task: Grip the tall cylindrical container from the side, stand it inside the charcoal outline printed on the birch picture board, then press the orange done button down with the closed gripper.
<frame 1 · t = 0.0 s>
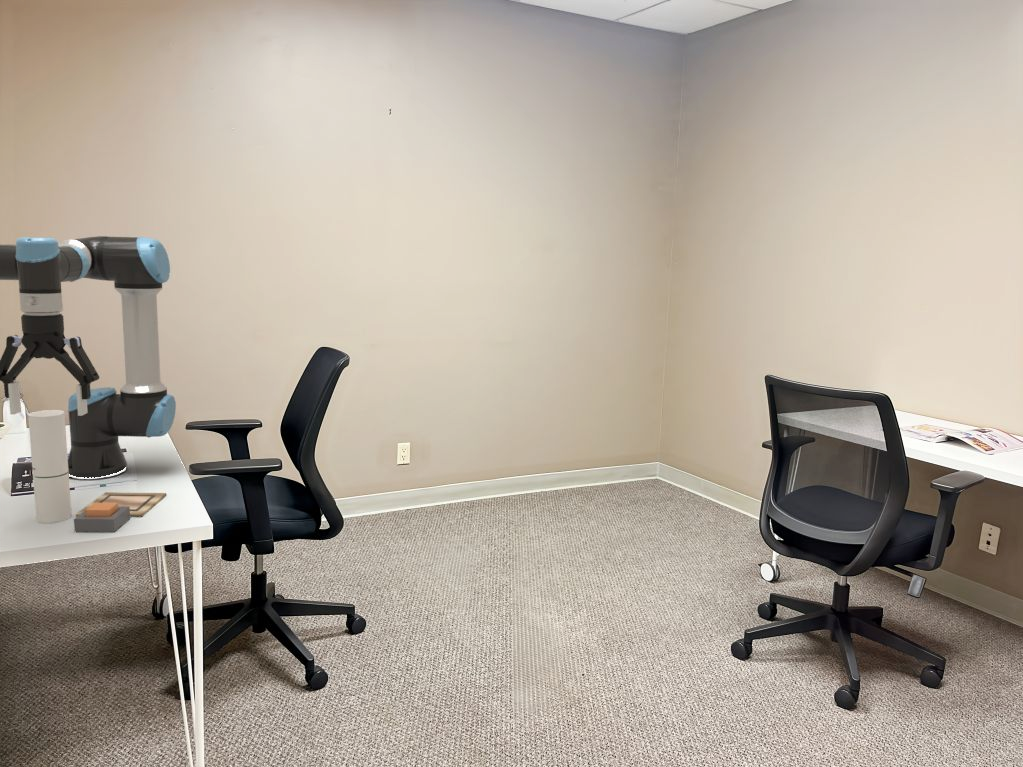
hand: (49, 413, 166), 28 cm above the table, tool pointing down, fingers open, 13 cm apart
done button housing: (103, 525, 180), on the table
cylindrical container: (54, 518, 183), on the table
done button: (102, 512, 179), point 3 cm above the table, slide at 0.0 cm
picture board: (123, 505, 193), on the table
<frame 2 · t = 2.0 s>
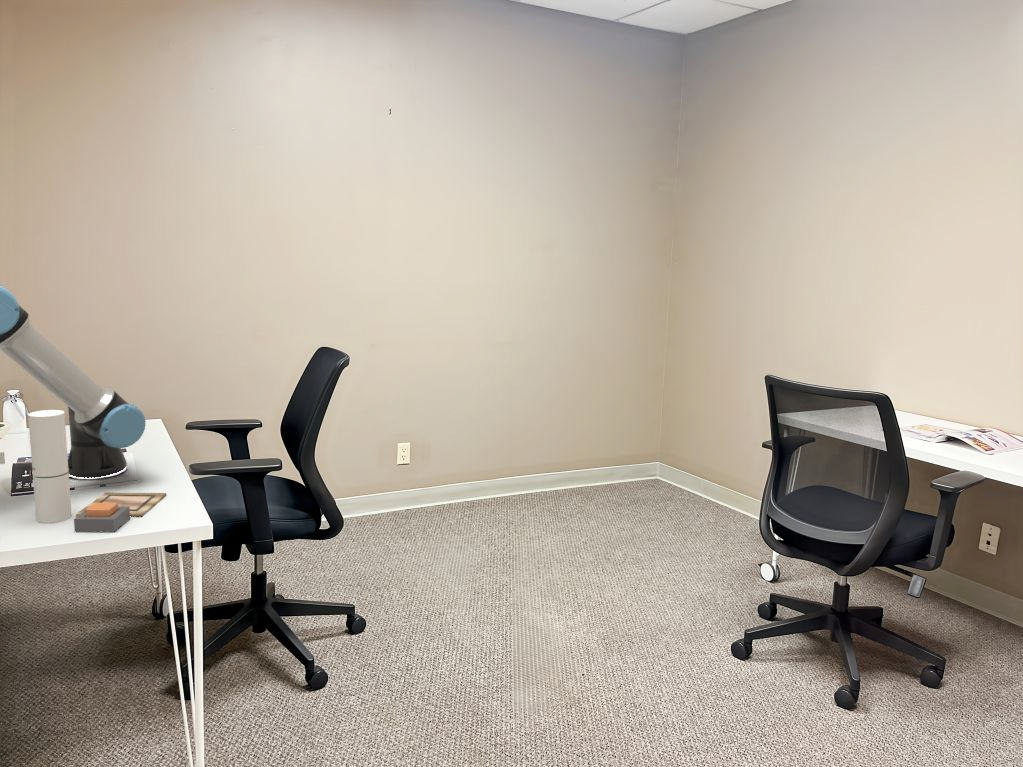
hand: (0, 465, 176), 14 cm above the table, tool horizontal, fingers open, 13 cm apart
nothing on the table moved.
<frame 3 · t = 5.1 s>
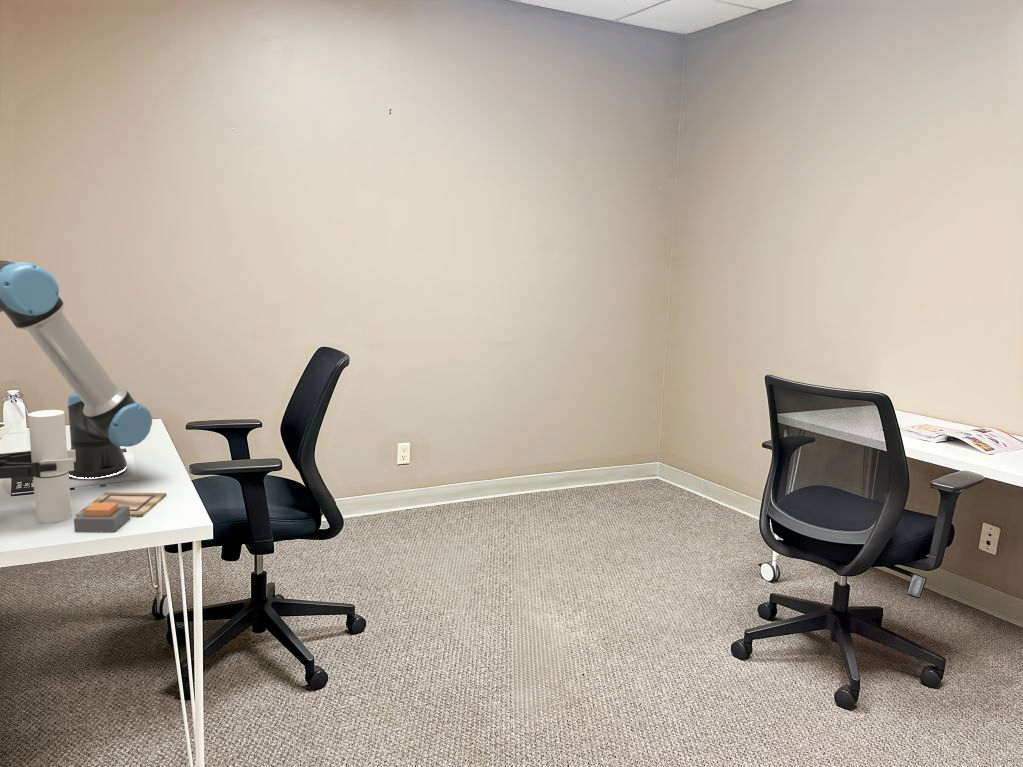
hand: (74, 459, 183), 14 cm above the table, tool horizontal, fingers closed on cylindrical container, 7 cm apart
cylindrical container: (54, 518, 183), on the table, touching gripper
everything else where it was.
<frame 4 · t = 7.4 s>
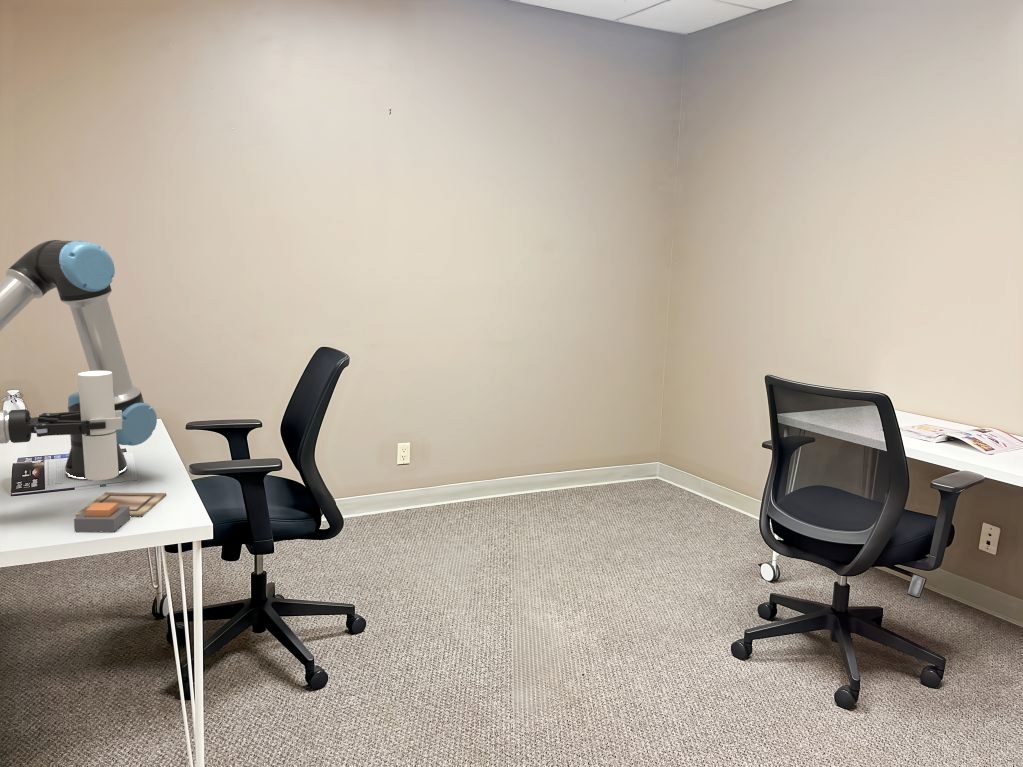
hand: (121, 419, 188), 22 cm above the table, tool horizontal, fingers closed on cylindrical container, 7 cm apart
cylindrical container: (102, 476, 188), point 8 cm above the table, touching gripper
everything else where it was.
when the fingers open (16 cm above the table, at t = 9.7 s): cylindrical container drops 1 cm, resting on picture board.
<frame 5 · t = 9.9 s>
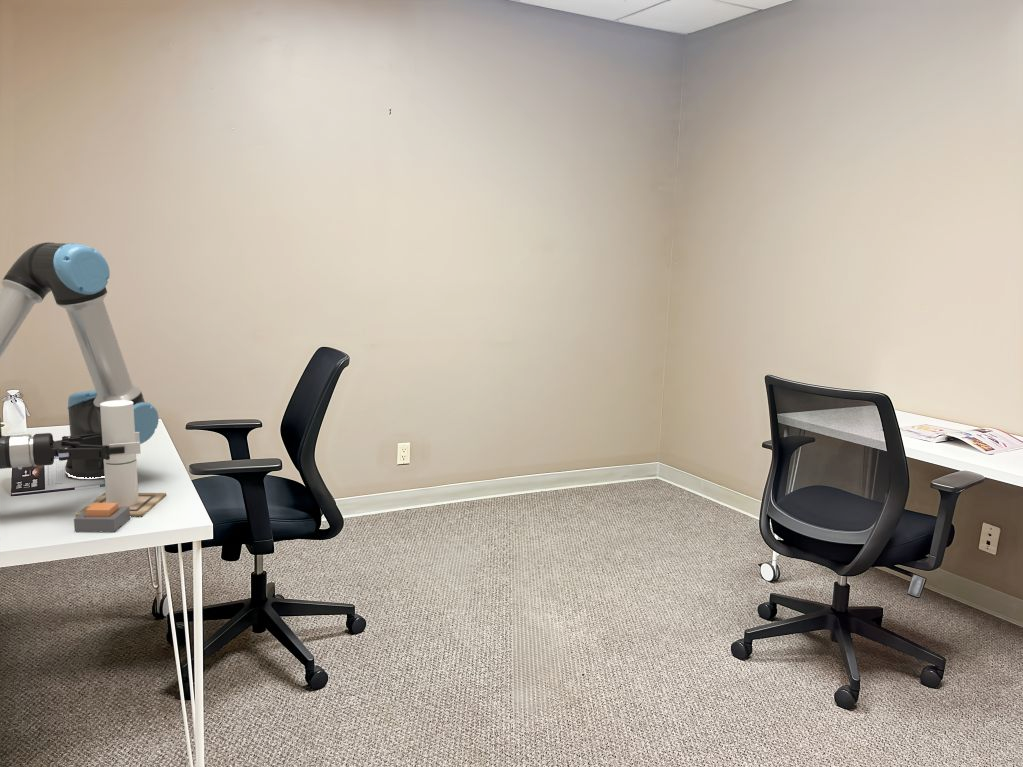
hand: (139, 442, 192), 16 cm above the table, tool horizontal, fingers open, 9 cm apart
cylindrical container: (122, 503, 193), point 1 cm above the table, touching picture board
everything else where it was.
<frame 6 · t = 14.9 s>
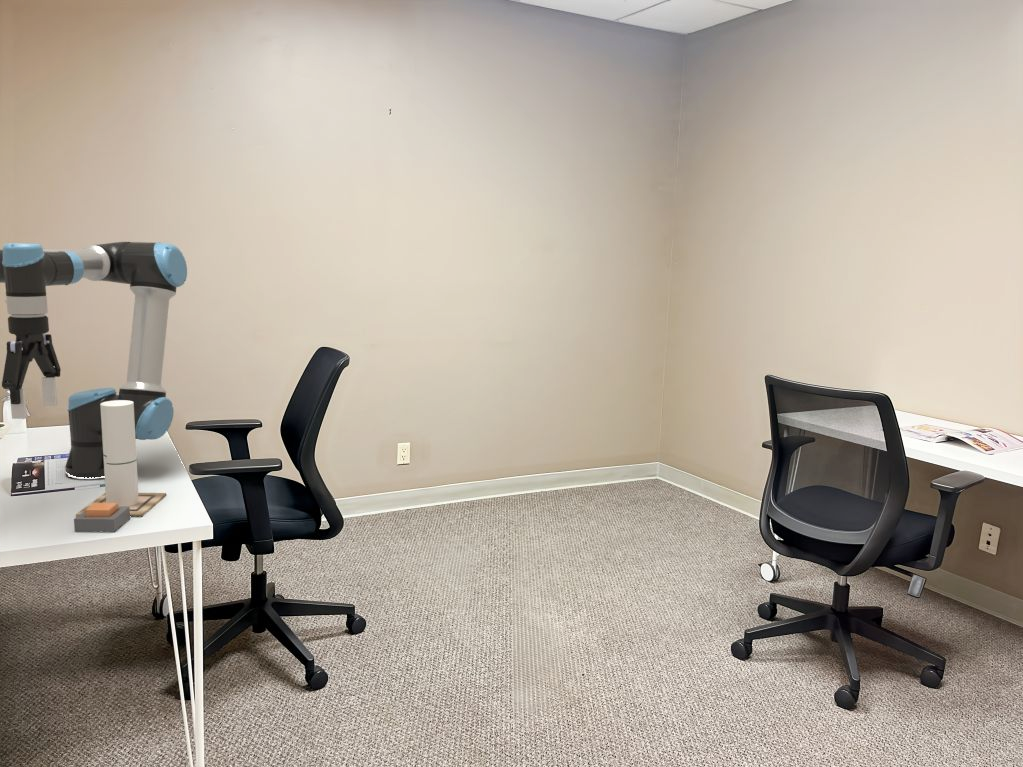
hand: (35, 411, 174), 26 cm above the table, tool pointing down, fingers open, 12 cm apart
nothing on the table moved.
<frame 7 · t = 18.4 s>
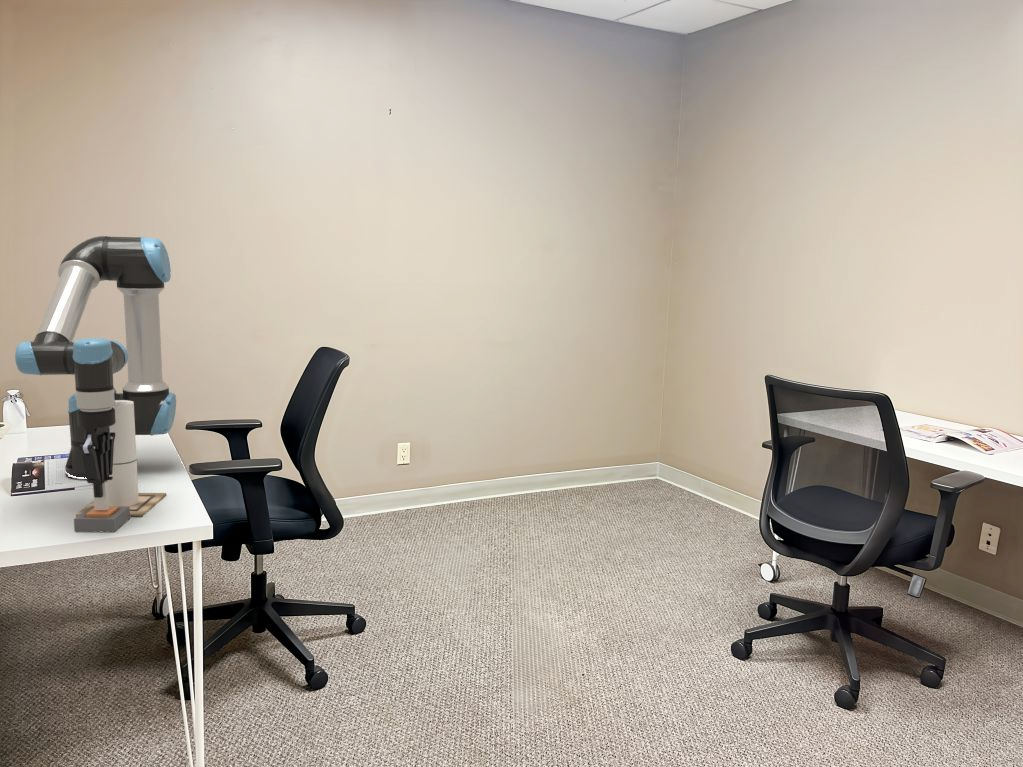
hand: (102, 509, 179), 4 cm above the table, tool pointing down, fingers closed
done button: (102, 516, 179), point 2 cm above the table, slide at 0.9 cm
everything else where it was.
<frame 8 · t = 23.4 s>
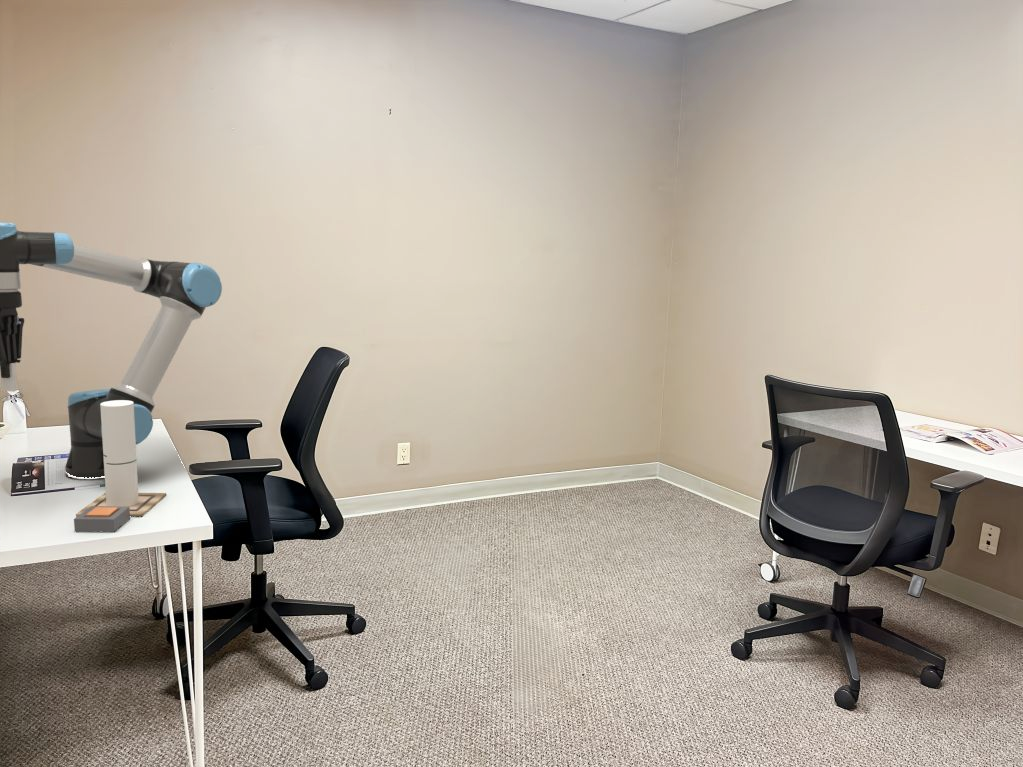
hand: (9, 390, 185), 28 cm above the table, tool pointing down, fingers closed
nothing on the table moved.
at the end: cylindrical container 0.1 cm off-centre on the picture board, point 0.5 cm above the picture board's base; cylindrical container tilted 0°; done button slide at 1.1 cm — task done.
